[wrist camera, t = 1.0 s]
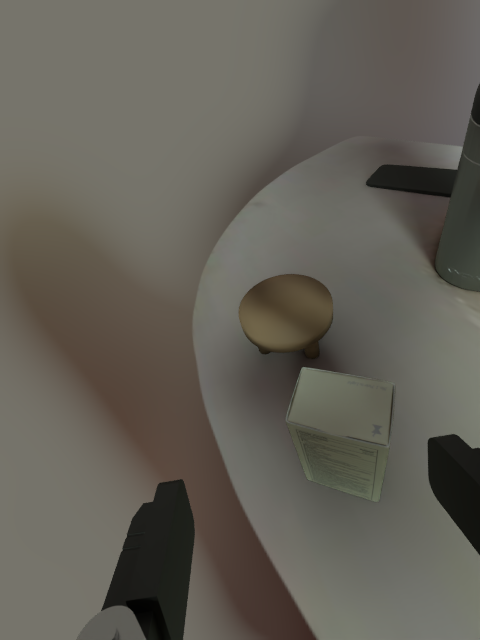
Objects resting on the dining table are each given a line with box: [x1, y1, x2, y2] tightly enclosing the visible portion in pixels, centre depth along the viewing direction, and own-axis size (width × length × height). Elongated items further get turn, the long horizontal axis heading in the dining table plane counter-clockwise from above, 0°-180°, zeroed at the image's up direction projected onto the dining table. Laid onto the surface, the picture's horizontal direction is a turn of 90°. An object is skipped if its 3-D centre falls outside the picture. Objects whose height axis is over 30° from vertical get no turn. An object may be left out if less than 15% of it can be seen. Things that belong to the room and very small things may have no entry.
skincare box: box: [285, 367, 395, 502], centre depth 25 cm, size 6×4×12 cm
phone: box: [366, 165, 457, 197], centre depth 56 cm, size 7×1×15 cm
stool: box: [239, 274, 333, 359], centre depth 38 cm, size 10×10×6 cm
